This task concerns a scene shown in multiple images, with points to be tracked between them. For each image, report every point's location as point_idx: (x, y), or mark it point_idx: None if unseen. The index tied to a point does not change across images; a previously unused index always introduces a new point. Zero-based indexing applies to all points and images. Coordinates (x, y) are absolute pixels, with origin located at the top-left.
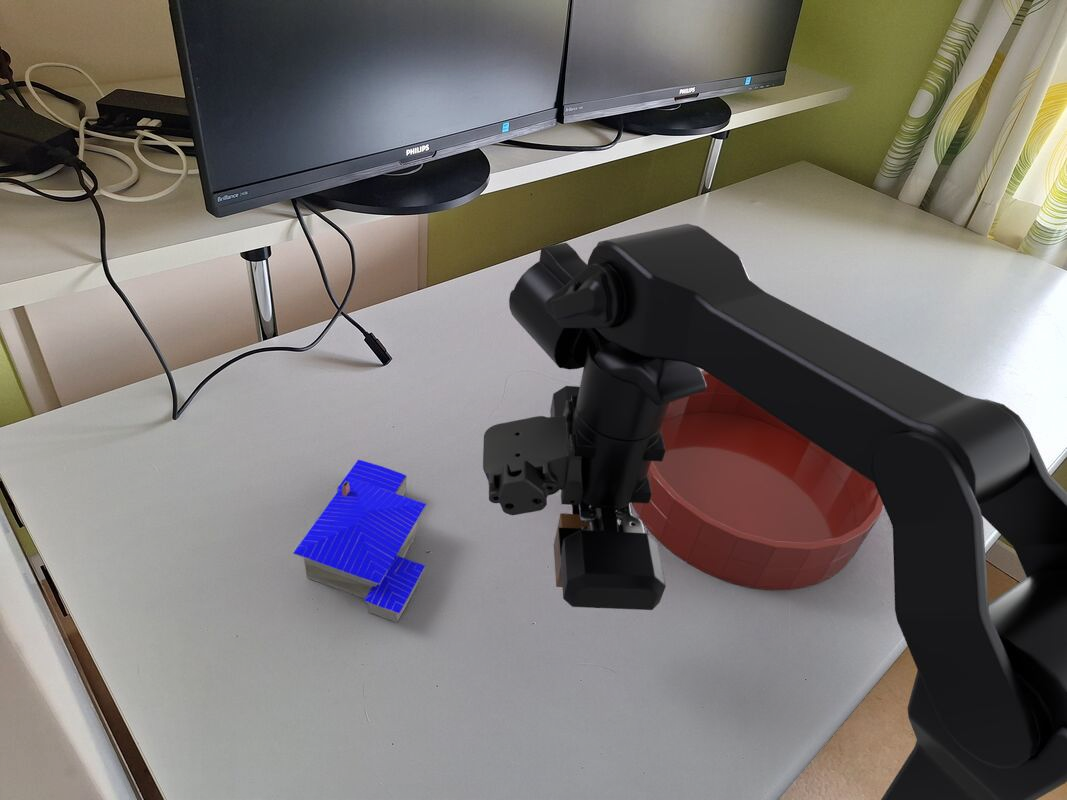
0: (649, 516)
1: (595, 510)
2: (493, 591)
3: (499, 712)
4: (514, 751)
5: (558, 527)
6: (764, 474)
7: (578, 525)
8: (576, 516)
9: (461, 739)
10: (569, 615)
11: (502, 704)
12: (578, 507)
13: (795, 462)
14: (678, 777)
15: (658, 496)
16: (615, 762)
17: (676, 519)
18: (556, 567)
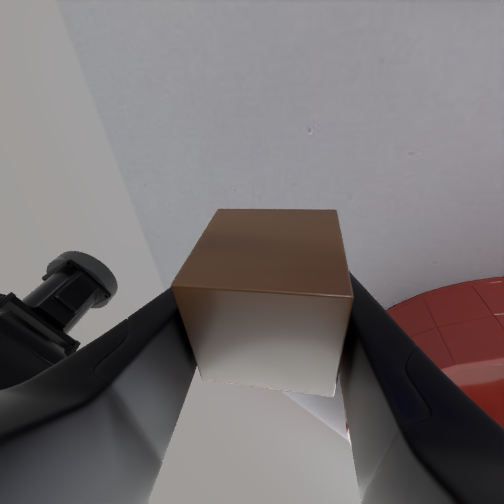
0: (460, 299)
1: (349, 384)
2: (374, 53)
3: (175, 84)
4: (136, 109)
5: (328, 260)
6: (489, 397)
7: (295, 334)
8: (335, 334)
9: (126, 26)
10: (321, 181)
11: (186, 88)
12: (359, 360)
13: (495, 419)
14: (163, 261)
15: (479, 337)
16: (159, 215)
17: (429, 341)
18: (249, 218)
